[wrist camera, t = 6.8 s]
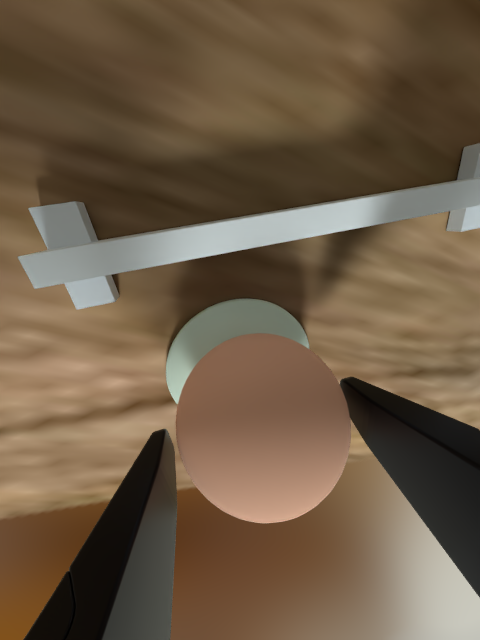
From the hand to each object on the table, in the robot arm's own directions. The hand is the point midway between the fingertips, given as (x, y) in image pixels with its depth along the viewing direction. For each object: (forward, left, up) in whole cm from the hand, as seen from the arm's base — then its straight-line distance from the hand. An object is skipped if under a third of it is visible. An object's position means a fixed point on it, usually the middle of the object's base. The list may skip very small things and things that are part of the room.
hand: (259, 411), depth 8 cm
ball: (0, 0, -3) cm, 3 cm away
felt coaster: (0, 0, -3) cm, 3 cm away
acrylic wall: (-3, -6, -3) cm, 7 cm away
